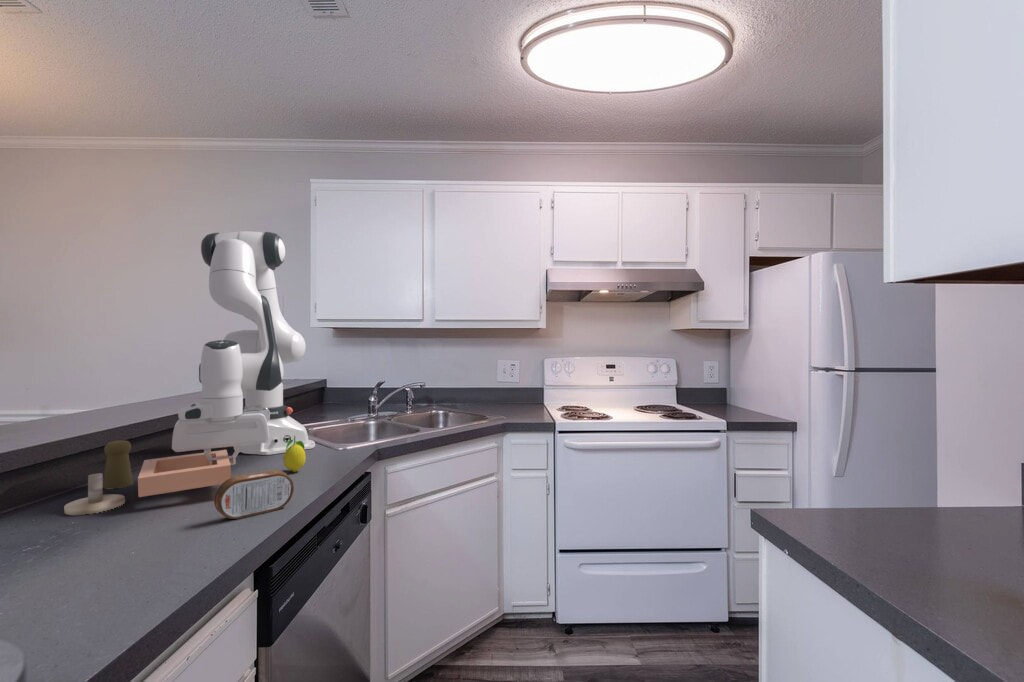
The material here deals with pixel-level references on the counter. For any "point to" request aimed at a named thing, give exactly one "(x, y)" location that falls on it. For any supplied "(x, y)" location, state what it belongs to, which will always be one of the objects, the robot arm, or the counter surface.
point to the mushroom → (94, 499)
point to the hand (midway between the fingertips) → (222, 465)
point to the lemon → (294, 455)
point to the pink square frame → (182, 473)
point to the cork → (117, 465)
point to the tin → (253, 494)
